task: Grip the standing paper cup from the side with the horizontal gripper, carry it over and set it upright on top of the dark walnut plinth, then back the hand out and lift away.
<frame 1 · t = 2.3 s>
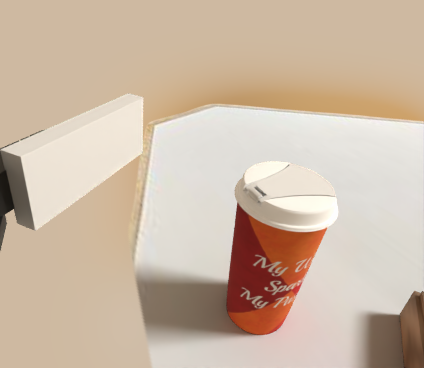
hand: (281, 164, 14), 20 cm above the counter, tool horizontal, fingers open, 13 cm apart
paper cup: (255, 309, 33), on the counter
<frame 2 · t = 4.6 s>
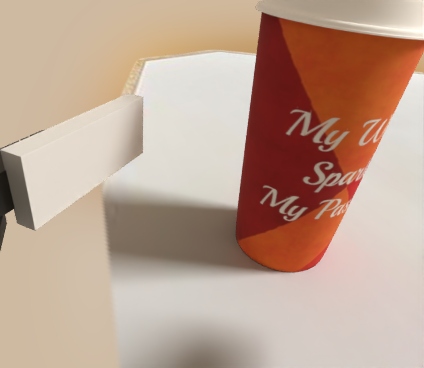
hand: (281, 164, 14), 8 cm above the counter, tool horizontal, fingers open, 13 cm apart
paper cup: (279, 241, 22), on the counter
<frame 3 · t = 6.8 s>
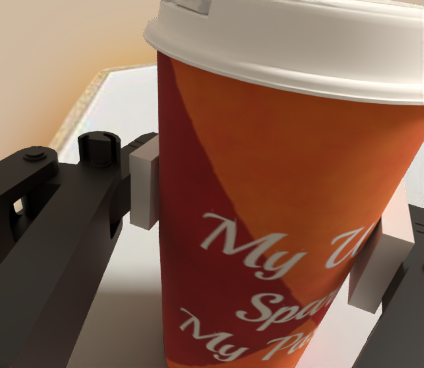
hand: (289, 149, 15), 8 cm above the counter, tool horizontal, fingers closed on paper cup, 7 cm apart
paper cup: (227, 348, 16), on the counter, touching gripper
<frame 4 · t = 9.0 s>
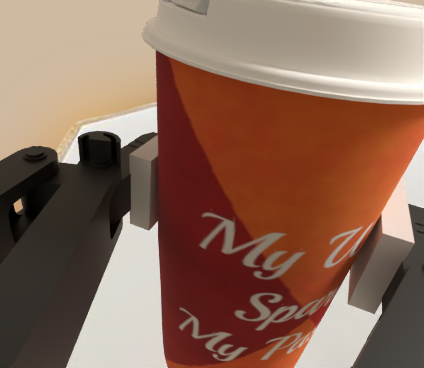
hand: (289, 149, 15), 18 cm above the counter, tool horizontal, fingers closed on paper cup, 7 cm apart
paper cup: (226, 348, 16), point 10 cm above the counter, touching gripper
when the fingers open (13 cm above the counter, at t = 11.5 s): paper cup drops 1 cm, resting on walnut plinth.
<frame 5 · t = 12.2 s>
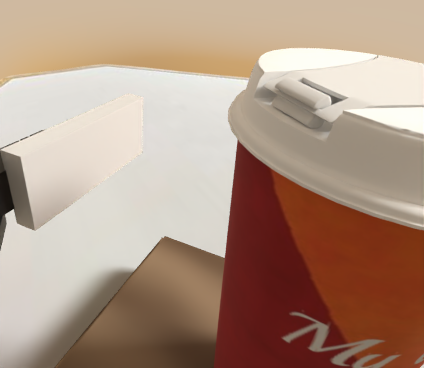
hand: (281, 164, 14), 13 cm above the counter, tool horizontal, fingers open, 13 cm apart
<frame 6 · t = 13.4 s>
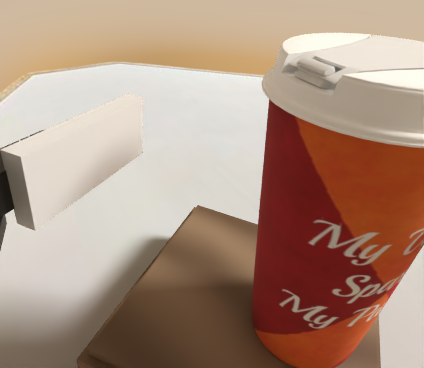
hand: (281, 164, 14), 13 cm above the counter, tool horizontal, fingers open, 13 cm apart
paper cup: (302, 322, 19), point 4 cm above the counter, touching gripper, walnut plinth
walnut plinth: (246, 339, 22), on the counter
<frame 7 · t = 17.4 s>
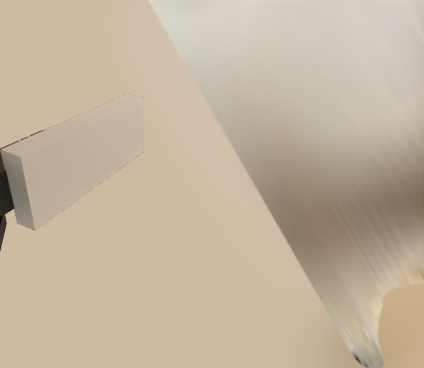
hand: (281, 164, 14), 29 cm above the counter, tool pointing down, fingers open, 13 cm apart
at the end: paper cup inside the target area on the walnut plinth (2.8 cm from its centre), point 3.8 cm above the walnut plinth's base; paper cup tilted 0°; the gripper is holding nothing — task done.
